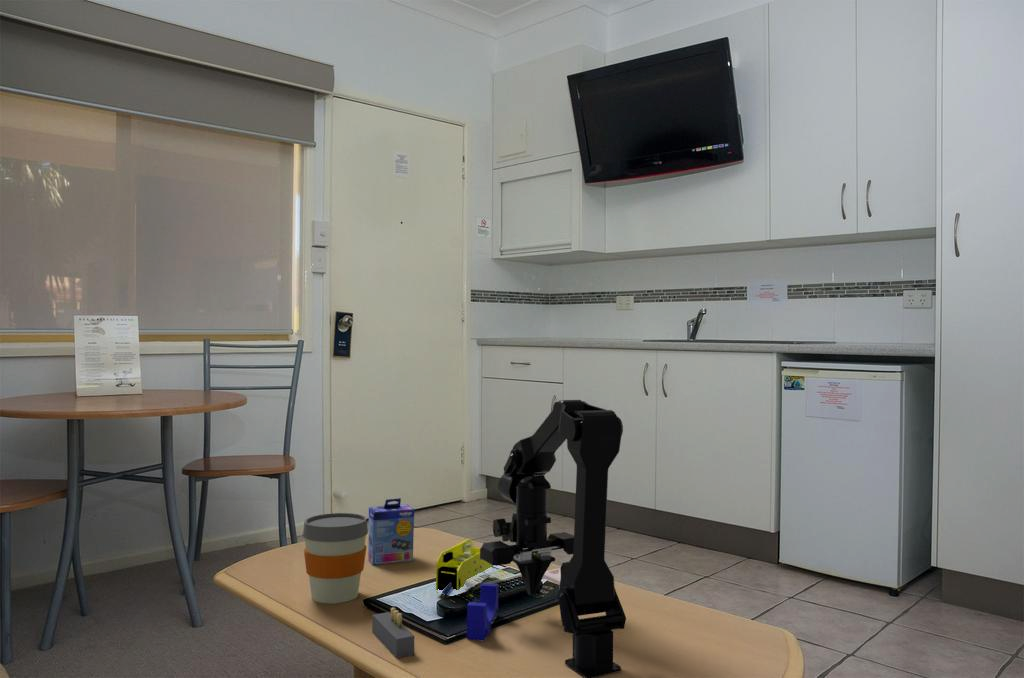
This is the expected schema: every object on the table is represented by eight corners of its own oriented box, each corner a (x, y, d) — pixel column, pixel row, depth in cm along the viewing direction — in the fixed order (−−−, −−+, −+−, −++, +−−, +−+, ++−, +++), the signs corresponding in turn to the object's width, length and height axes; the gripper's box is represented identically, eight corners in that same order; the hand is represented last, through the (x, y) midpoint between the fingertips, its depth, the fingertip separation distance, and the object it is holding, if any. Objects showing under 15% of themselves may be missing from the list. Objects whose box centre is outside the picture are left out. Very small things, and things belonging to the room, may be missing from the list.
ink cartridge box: (372, 566, 166) (373, 501, 166) (366, 559, 171) (367, 496, 171) (414, 561, 170) (415, 498, 171) (407, 555, 175) (408, 493, 176)
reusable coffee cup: (319, 611, 138) (319, 530, 138) (291, 593, 147) (292, 518, 147) (378, 597, 146) (379, 521, 146) (349, 581, 155) (349, 509, 155)
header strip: (415, 654, 119) (415, 623, 119) (396, 658, 117) (396, 626, 117) (389, 629, 129) (389, 600, 129) (372, 632, 128) (372, 603, 128)
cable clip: (474, 614, 137) (474, 582, 137) (498, 616, 136) (498, 583, 137) (458, 639, 125) (458, 604, 126) (484, 641, 125) (484, 606, 125)
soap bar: (567, 594, 149) (567, 582, 149) (540, 582, 157) (540, 571, 157) (587, 589, 152) (587, 577, 152) (559, 578, 160) (559, 567, 160)
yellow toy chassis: (470, 574, 161) (471, 536, 161) (494, 578, 159) (494, 539, 159) (433, 597, 147) (434, 554, 147) (459, 601, 144) (459, 558, 144)
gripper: (551, 497, 149) (550, 575, 148) (467, 506, 139) (466, 589, 139) (582, 508, 139) (582, 592, 139) (494, 518, 130) (493, 608, 130)
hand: (531, 594), depth 137 cm, fingers closed
